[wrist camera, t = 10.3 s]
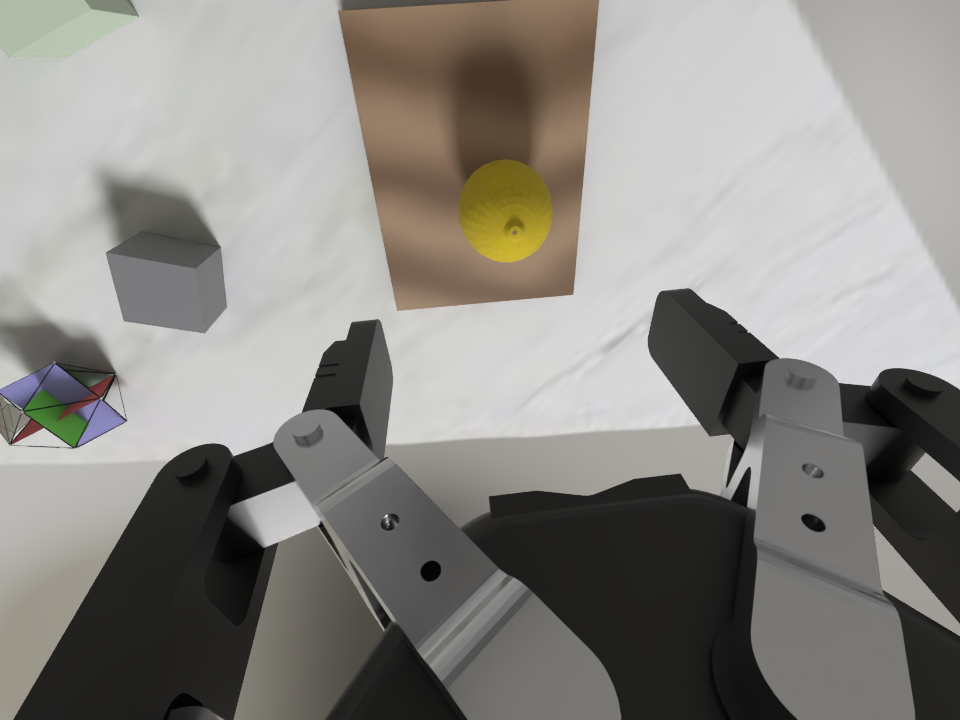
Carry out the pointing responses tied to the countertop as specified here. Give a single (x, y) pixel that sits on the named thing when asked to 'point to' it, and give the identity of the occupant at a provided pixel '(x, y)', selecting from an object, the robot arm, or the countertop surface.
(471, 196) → the lemon
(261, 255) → the countertop surface
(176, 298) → the gray block
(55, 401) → the geometric puzzle
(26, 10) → the sage block
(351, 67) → the walnut board
